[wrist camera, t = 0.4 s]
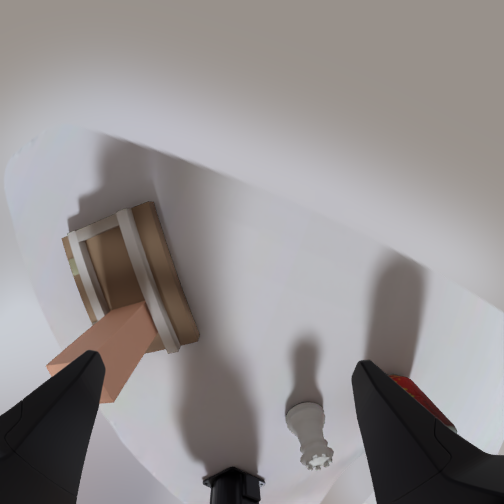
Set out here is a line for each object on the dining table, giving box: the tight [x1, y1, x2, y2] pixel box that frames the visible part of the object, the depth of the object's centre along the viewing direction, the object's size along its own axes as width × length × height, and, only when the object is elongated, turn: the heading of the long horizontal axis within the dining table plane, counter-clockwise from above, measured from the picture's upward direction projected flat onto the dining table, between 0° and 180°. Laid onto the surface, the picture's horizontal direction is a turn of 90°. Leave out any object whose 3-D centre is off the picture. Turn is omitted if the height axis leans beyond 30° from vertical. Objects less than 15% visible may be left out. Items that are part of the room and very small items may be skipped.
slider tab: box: [46, 301, 158, 403], centre depth 18 cm, size 3×4×11 cm
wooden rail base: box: [62, 201, 200, 354], centre depth 23 cm, size 13×10×3 cm
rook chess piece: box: [286, 402, 334, 471], centre depth 24 cm, size 4×4×8 cm
